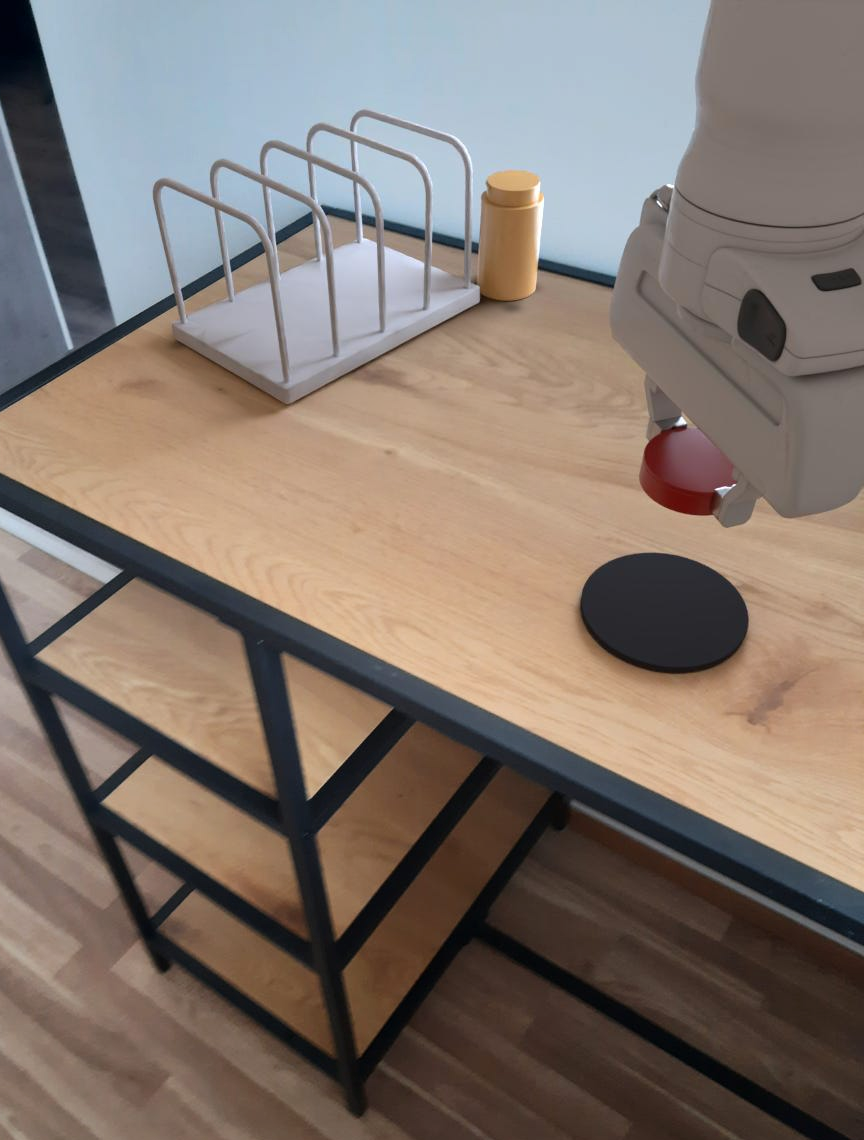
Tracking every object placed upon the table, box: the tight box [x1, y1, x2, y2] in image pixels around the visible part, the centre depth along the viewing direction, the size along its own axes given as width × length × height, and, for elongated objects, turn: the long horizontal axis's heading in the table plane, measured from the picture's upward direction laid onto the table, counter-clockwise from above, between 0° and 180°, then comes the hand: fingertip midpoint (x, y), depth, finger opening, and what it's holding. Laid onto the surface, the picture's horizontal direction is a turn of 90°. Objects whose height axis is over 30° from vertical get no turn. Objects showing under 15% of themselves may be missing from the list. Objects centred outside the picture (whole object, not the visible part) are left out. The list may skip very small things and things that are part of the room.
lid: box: [638, 427, 738, 517], centre depth 55 cm, size 6×6×2 cm
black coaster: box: [579, 552, 750, 674], centre depth 63 cm, size 11×11×1 cm
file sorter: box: [152, 108, 481, 405], centre depth 86 cm, size 25×17×16 cm
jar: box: [476, 169, 545, 302], centre depth 92 cm, size 6×6×10 cm
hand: (694, 480), depth 55 cm, fingers closed on lid, 6 cm apart
